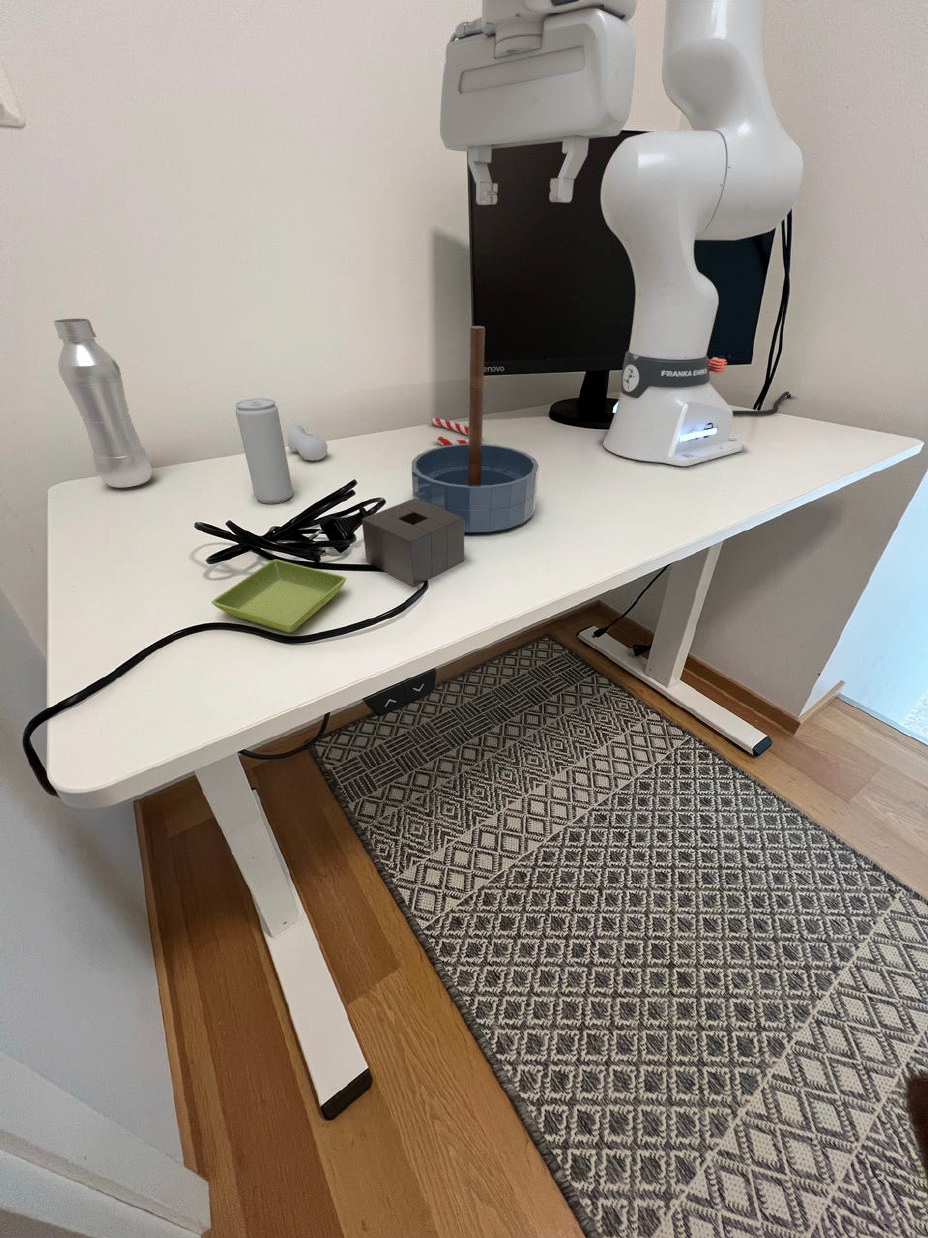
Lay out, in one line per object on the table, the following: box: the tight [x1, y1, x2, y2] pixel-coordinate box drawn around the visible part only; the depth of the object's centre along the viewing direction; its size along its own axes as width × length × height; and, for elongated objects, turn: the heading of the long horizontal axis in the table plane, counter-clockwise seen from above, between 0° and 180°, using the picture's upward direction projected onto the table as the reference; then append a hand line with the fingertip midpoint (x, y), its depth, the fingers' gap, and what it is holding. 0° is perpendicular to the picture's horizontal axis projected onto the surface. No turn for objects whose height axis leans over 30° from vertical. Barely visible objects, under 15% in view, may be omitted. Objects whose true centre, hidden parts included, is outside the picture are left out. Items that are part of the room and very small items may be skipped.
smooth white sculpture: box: [286, 424, 329, 461], centre depth 84 cm, size 4×8×5 cm
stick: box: [468, 325, 486, 486], centre depth 63 cm, size 2×2×20 cm
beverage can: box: [234, 397, 294, 505], centre depth 68 cm, size 5×5×12 cm
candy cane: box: [431, 417, 469, 447], centre depth 94 cm, size 8×1×15 cm
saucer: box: [211, 558, 347, 634], centre depth 50 cm, size 9×9×2 cm
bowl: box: [411, 443, 540, 533], centre depth 67 cm, size 15×15×6 cm
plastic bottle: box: [53, 318, 153, 488], centre depth 69 cm, size 6×7×20 cm
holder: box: [361, 498, 465, 588], centre depth 56 cm, size 7×7×5 cm
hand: (521, 203), depth 55 cm, fingers open, 8 cm apart
